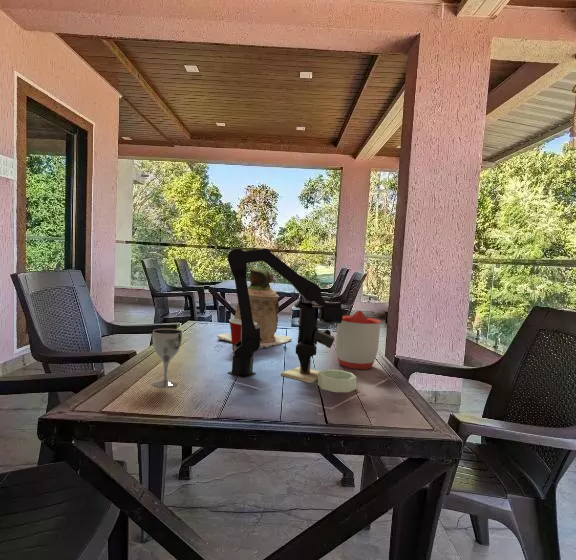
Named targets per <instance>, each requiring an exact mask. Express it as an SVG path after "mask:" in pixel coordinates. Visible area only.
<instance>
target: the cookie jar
mask: <svg viewBox="0 0 576 560" xmlns="http://www.w3.org/2000/svg"><path fill="white" fill-rule="evenodd" d="M249 268H250V271H249V274H250V275H248V278H249V282H250V285H249V286H248V293H249V299H250V305H251V312H252V318H253V322H256V323H257V325H259V327H260V336H261V339H262V341H260V347H259V349H260V348H262V349H263V348H271V347H272V346H278V345H282V344H284V343H289V341H290V342H291V341H292V340H293V338H292V337H291V336H287V335H281V334H276V333H277V331H278V330H277V329H278V324H279V316H278V313H279V308H280V304H279V297H280V296H279V294H277V292H276V291H275V290H274V289H272V288H271V286H270V284H271V283H272V282H273V281H274V275H273V274H272V273H270V272H269V270H267V269H265V268H262V267H261V268H260V267H254V266H253V265H250V267H249ZM234 314H235V315H234V317H233V319H240V320H241V316H240V310H239V303H238V302H237V305H236V309H235V313H234ZM216 338H217V341H218V340H219V341H220V340H223V341H226V342H230V343H232V338H231V332H230V333H220V334H216Z"/></svg>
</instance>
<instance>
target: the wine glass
mask: <svg viewBox="0 0 576 560" xmlns="http://www.w3.org/2000/svg"><path fill="white" fill-rule="evenodd" d="M182 338H183V330H182V329H178V328H156V329H153V330H152V346H153V349H154V350H153V351H154V352H155V353H156V355H157V356H158V357H159V358H160V360H161V361H162V364H163V379H158V380H154V381H153V382H152V383H151V385H152V386H153V387H155V388H163V389H164V388H173V387H176V386H178V385H179V383H178V382H177V381H176V380H171V379H168V368H169V364H170V362H171V360H172V359H173V358H174V357H175V356H176V355H178V352H180V348H181V345H182V340H183V339H182Z"/></svg>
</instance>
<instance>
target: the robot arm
mask: <svg viewBox="0 0 576 560" xmlns="http://www.w3.org/2000/svg"><path fill="white" fill-rule="evenodd" d="M227 262H228V266H229V267H230V271H231V273H232V276H233V278H234V284H235V290H236V295H237V297H236V298H237V304H238V303H239V310H240V316H241V340H240V341H239V342H238V343H236V344H235V345H234V352H233V353H234V354H233V355H232V361H231V362H232V363H231V364H232V365H231V371H229V372H227V374H228V375H231V376H235V377H239V378H243V379H244V378H247V377H251V376H254V375H256V374H257V373H256V372H254V371H253V370H254V369H253V368H254V367H253V366H254V354H255V352H257V351H258V350H259V349H260V348H259V347H260V341H262V339H261V336H260V327H259V325H256V326H255V325H254V323H253V318H252V312H251V305H250V299H249V293H248V287H249V286H248V281H247V272H248V271H247V269H248V268H247V265H248V264H251V263H257V262H264V263H265V264H266V265H268V267H270V268H272V269H273V270H274V271H275V272H276V273H278V274H279V275H280V276H281V277H283V279H285V280H286V281H288V282H289V283H290V284H291V285H292V286H293V288H294V289H295V290H296V292H298V294H299V295H300V296H301V297H302V298H303V299H304V300H306V302H305V301H302V300H301V299H298V300H297V302H296V303H294V305H293V306H294V307H295V308H296V309H300V310H299V319H298V320H299V321H298V337H297V344H296V345H295V354H296V356H297V358H298V360H299V363H300V364H301V367H302V371H303V372H305V373H306V372H307V369H308V365H309V361H310V359H311V358H312V357H313V356H316V355H317V344H318V343H319V344H321V345H324V346H325V347H326V348H329V349H331V348H332V346H333V343H334V341H335V337H334V335H331V330H329V329H328V328H327V329H325V330H324V331H323V330H320V329H319V326H318V320H319V321H320V320H321V322H322V323H323V324H336V325H337V324H341V322H342V318H343V316H344V315H343V314H344V313H343V309H342V302H340V301H335V302H333V301H325V299H324V298H323V296H322V295H321V294H322V290H321V287H320V286H319V285H318V284H316V283H315V282H313V281H311V280H309V279H307V278H305V277H304V276H302V275H300V274H299V273H298V272H296V271H295V270H293V268H291V267H290V266H289V265H288V264H286V263H285V262H283V260H282V259H280V258H279V257H277V256H276V255H275V254H274V253H272V251H271V250H270V249H269V248H264V247H263V248H260V249H259V248H258V249H251V250H243V249H241V248H232V249H231V250H230V251H229V252H228V254H227ZM307 301H308V302H307ZM312 302H314V303H315V304H317V305H313V303H312ZM300 364H299V365H300Z"/></svg>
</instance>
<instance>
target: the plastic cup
mask: <svg viewBox="0 0 576 560" xmlns="http://www.w3.org/2000/svg"><path fill="white" fill-rule="evenodd" d="M228 321H229V327H230V333H231V338H232V342H231V343H232V345H231V346H232V351H233V353H234V345H235V344H236V343H238V342H239V341H240V340H241V320H240V319H234V318H230V319H228ZM253 323H254V325H255V326H256V325H257V323H256V322H253Z"/></svg>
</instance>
